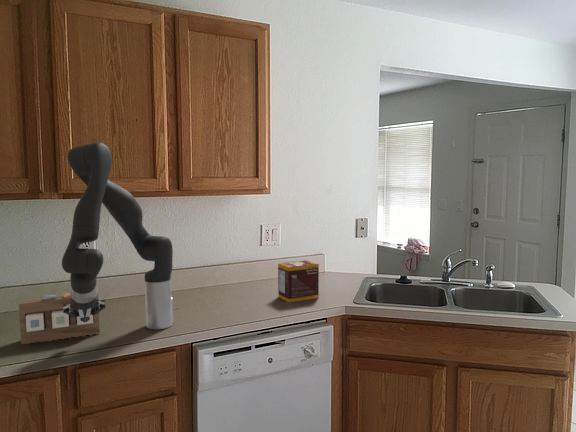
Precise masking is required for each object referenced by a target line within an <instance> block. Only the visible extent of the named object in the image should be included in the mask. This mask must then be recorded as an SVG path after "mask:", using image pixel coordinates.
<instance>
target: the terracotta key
mask: <svg viewBox="0 0 576 432" xmlns="http://www.w3.org/2000/svg"><path fill="white" fill-rule="evenodd" d="M90 323H93V315H90V320H88V322H83V321H80V316H78V317H77V325H82V324H90Z"/></svg>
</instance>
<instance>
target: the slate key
mask: <svg viewBox="0 0 576 432" xmlns="http://www.w3.org/2000/svg"><path fill="white" fill-rule="evenodd" d="M44 327H45V322H44V312H36V313H28V314H27V315H26V330H27V332H30V331H38V330H44Z"/></svg>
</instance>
